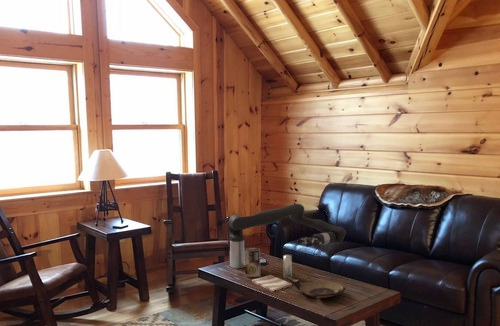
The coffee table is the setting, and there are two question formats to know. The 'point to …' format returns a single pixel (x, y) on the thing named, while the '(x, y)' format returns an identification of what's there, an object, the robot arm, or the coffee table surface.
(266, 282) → the ash board
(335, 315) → the coffee table surface
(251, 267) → the coffee box
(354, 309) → the coffee table surface
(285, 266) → the metal tin
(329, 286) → the oil lamp
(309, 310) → the coffee table surface
